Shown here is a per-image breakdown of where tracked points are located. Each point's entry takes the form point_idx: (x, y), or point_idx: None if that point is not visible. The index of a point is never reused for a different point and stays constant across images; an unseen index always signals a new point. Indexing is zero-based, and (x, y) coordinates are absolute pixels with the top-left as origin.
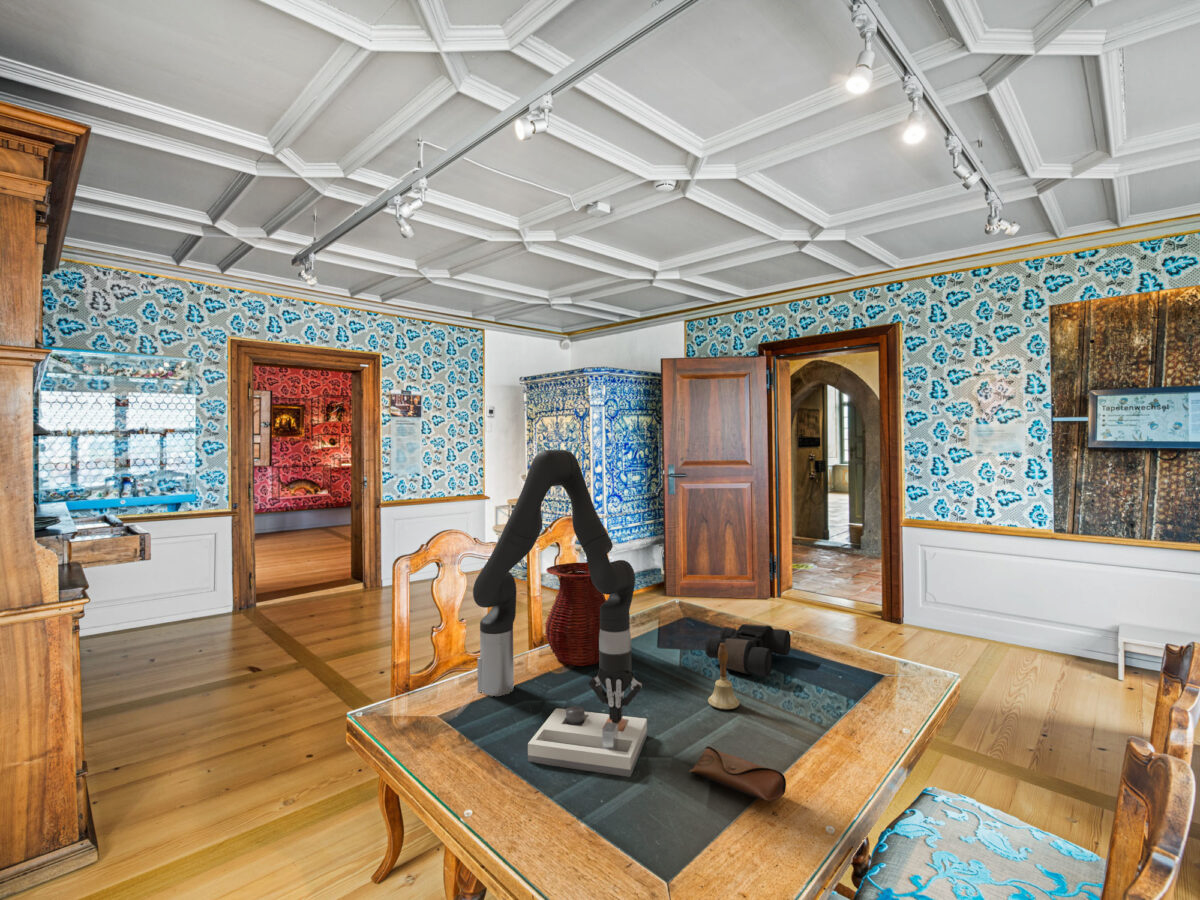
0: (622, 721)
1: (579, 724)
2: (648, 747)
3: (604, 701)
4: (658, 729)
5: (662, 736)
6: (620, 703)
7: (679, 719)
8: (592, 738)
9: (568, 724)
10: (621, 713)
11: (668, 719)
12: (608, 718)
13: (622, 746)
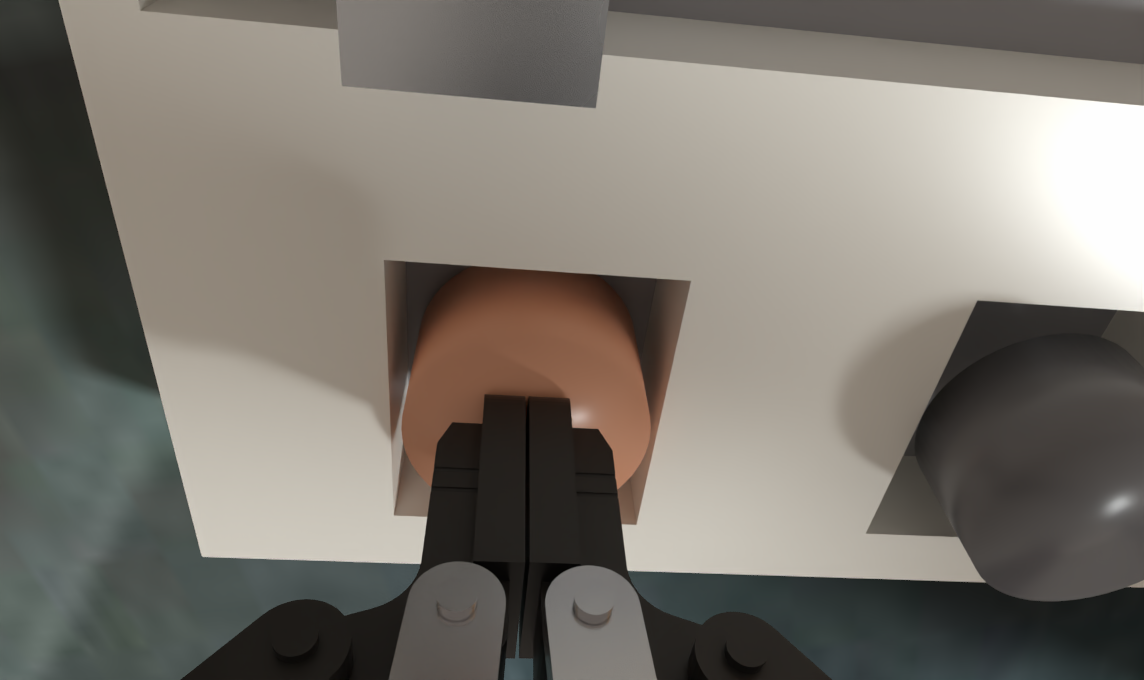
0: None
1: (985, 359)
2: None
3: (727, 643)
4: None
5: (111, 436)
6: (405, 633)
7: (92, 656)
8: (815, 59)
9: None
10: (431, 511)
11: (176, 645)
12: (638, 508)
13: None
